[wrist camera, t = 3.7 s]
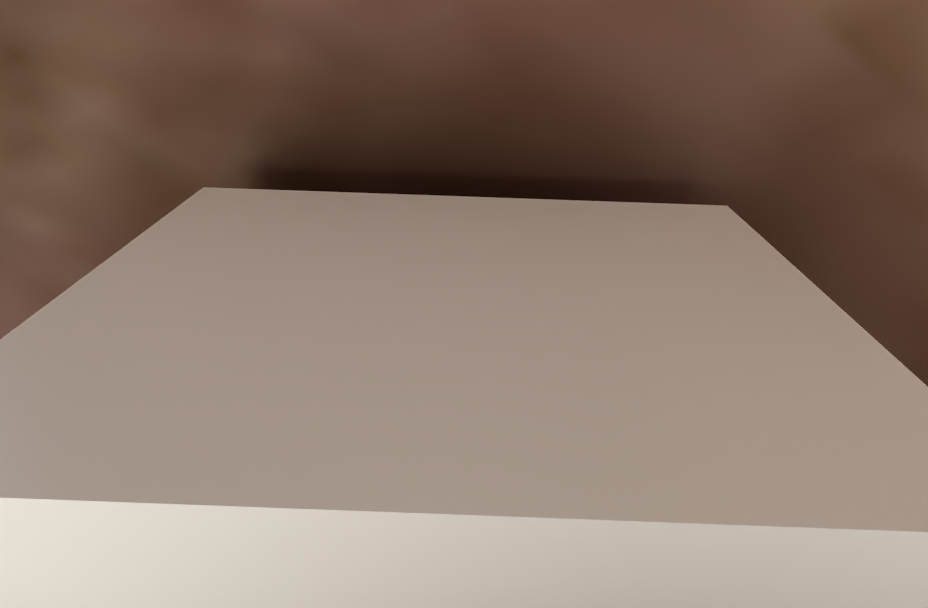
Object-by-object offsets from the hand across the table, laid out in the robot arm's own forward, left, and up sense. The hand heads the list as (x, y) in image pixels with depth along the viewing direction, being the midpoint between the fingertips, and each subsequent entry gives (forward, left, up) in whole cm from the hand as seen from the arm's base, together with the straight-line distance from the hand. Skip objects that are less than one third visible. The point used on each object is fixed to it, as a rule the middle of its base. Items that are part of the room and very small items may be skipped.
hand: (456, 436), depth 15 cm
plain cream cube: (0, 0, -1) cm, 1 cm away
